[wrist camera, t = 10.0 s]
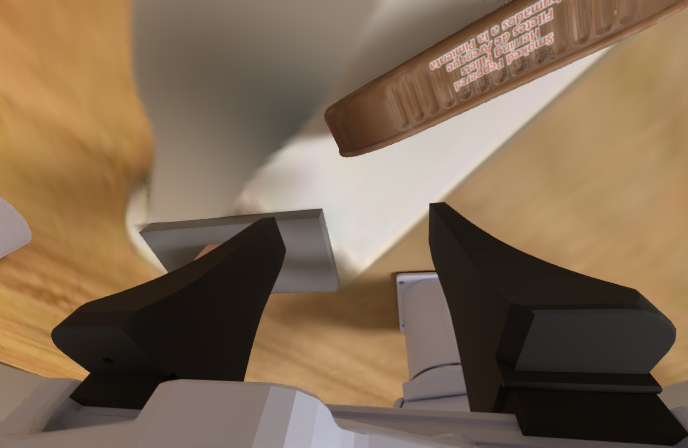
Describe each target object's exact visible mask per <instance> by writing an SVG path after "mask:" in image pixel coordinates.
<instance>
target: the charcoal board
mask: <svg viewBox="0 0 688 448" xmlns="http://www.w3.org/2000/svg"><path fill="white" fill-rule="evenodd" d="M265 217H275V220H276V222H277V225H278V228H279V231H280V233H281V236H282V239H283V242H284V245H285V247H286V253H285V258H284V261H283V265H282V268H281V270H280V273H279V275H278V278H277V280H276V282H275V285H274V287H273V289H272V291H271V294H272V293H308V292H338V287H339V277H338V273H337V268H336V264H335V260H334V256H333V252H332V248H331V243H330V239H329V235H328V231H327V227H326V222H325V218H324V214H323V210H322V209H313V210H302V211H290V212H279V213H268V214H256V215H245V216H234V217H223V218H211V219H200V220H189V221H177V222H166V223H155V224H150V225H148V226H147V227H146V228H144V229H143V230H142V231H140V232H139V233H140V234H141V236H142V237H143V238H144V240H145V241H146V243H147V244H148V245H149V247H150V248H151V249H152V251H153V252H154V254H155V255H156V256H157V258H158V259H159V260H160V262H161V263H162V265H163V266H164V267H165V269H166V270H167V271H168V273H170V272H172V271H174V270H176V269H178V268H180V267H183V266H184V265H186V264H188V263H190V262H192V261H194V259H195V258H196V257H197V256H198V255H199V254H200V253H201V252H202V250H203V249H204V248H205V247H206V246H207V245H208V244H221V243H224V242H226V241H227V240H229V239H230V238H232V237H233V236H235V235H236V234H238V233H239V232H241V231H242V230H244V229H245V228H246V227H248V226H250V225H251V224H253V223H254V222H256V221H257V220H259V219H261V218H265Z"/></svg>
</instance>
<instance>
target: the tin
mask: <svg viewBox="0 0 688 448" xmlns="http://www.w3.org/2000/svg"><path fill="white" fill-rule="evenodd" d="M687 7H688V0H513V1H511V2H509V3H507V4H506V5H504V6H502V7H500V8H498V9H497V10H495V11H493V12H491V13H490V14H488V15H486V16H484V17H482V18H481V19H479V20H477V21H475V22H474V23H472V24H470V25H468V26H467V27H465V28H463V29H461V30H460V31H458V32H456V33H454V34H453V35H451V36H449V37H448V38H446V39H444V40H442V41H441V42H439V43H437V44H435V45H434V46H432V47H430V48H429V49H427V50H425V51H423V52H422V53H420V54H418V55H417V56H415V57H413V58H412V59H410V60H408V61H406V62H405V63H403V64H401V65H399V66H398V67H396V68H394V69H393V70H391V71H389V72H387V73H386V74H384V75H382V76H380V77H379V78H377V79H375V80H373V81H372V82H370V83H368V84H367V85H365V86H363V87H362V88H360V89H358V90H356V91H355V92H353V93H351V94H349V95H348V96H346V97H344V98H343V99H341V100H339V101H338V102H336V103H335V104H333V105H332V106H330V107H329V108H328V109H327V110H326V112H325V114H324V116H325V121H326V123H327V125H328V127H329V129H330V131H331V133H332V135H333V137H334V139H335V141H336V143H337V145H338V148H339V153H340V155H341V156H342V157H354V156H358V155H362V154H366V153H369V152H372V151H375V150H378V149H381V148H384V147H386V146H389V145H392V144H394V143H397V142H399V141H401V140H403V139H406V138H408V137H411V136H413V135H415V134H417V133H420V132H422V131H424V130H426V129H428V128H430V127H433V126H435V125H437V124H439V123H441V122H444V121H446V120H448V119H450V118H452V117H454V116H457V115H459V114H461V113H463V112H465V111H468V110H470V109H472V108H474V107H476V106H478V105H481V104H483V103H485V102H487V101H490V100H491V99H494V98H496V97H498V96H500V95H502V94H505V93H507V92H509V91H511V90H513V89H516V88H518V87H520V86H522V85H525V84H527V83H529V82H531V81H533V80H535V79H537V78H540V77H542V76H544V75H546V74H548V73H551V72H553V71H555V70H558V69H560V68H562V67H564V66H566V65H569V64H571V63H573V62H575V61H577V60H579V59H581V58H584V57H586V56H588V55H590V54H593V53H595V52H597V51H599V50H601V49H604V48H606V47H609V46H611V45H613V44H615V43H617V42H619V41H622V40H624V39H626V38H628V37H630V36H632V35H635V34H637V33H639V32H641V31H643V30H645V29H647V28H649V27H651V26H653V25H655V24H657V23H659V22H661V21H663V20H665V19H667V18H668V17H670V16H672V15H674V14H675V13H677V12H679V11H681V10H683V9H685V8H687Z"/></svg>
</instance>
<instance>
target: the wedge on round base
mask: <svg viewBox="0 0 688 448" xmlns="http://www.w3.org/2000/svg"><path fill="white" fill-rule="evenodd" d="M31 238H32V234H31V230H30V228H29V226H28V224H27V222H26V221H25V219H24V218H23V217H22V216H21V214H20V213H19V212H18V211H17V210H16V209H15V208H14V207H13V206H12V205H11V204H9V203H8V202H7V201H6V200H5V199H3V198H2V197H1V196H0V259H1V258H3V257H4V256H6V255H8V254H10V253H12V252H14V251H15V250H17V249H19V248H21V247H23V246H25V245H27V244H28V243H29V242H30V241H31Z"/></svg>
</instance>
